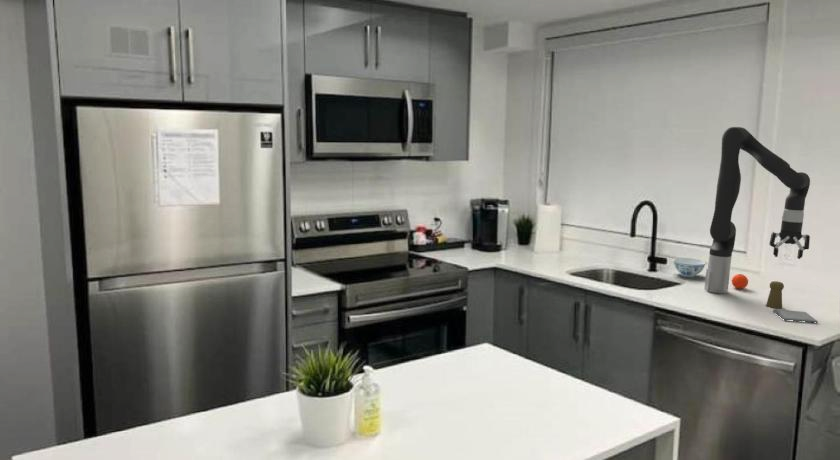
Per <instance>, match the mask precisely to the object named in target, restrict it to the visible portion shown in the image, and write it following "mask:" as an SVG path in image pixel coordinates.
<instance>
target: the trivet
mask: <svg viewBox="0 0 840 460" xmlns="http://www.w3.org/2000/svg"><path fill="white" fill-rule="evenodd" d="M772 313H774V314H775V313H776V314H777V315H778V316H780V317H781V318H782V319H784V320H793V321H805V322H816V323H817V324H818V319H815V318H814V317H813V316H812V315H810V314H809V313H807V312H806V311H797V310H785V309H784V310H782V309H772ZM776 314H775V315H776ZM777 315H776V316H777ZM778 316H777V317H778ZM780 317H779V318H780ZM781 318H780V319H781ZM782 319H781V320H782ZM816 323H815V324H816Z"/></svg>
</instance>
